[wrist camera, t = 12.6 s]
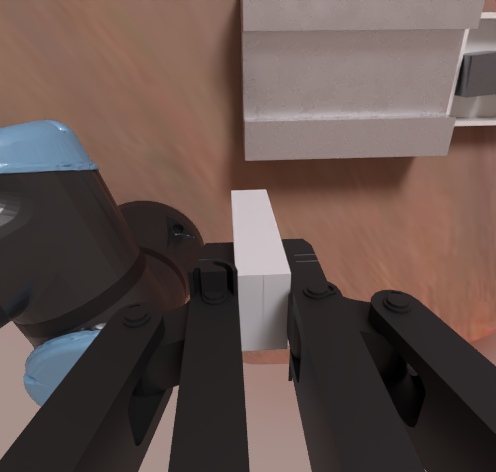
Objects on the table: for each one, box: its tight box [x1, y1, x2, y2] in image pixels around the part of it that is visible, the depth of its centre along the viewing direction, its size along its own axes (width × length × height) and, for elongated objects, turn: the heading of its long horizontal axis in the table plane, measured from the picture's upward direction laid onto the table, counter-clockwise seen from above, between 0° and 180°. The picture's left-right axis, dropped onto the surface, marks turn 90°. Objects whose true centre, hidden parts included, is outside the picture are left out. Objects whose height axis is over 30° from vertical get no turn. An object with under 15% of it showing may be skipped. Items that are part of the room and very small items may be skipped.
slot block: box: [240, 0, 485, 161], centre depth 38 cm, size 16×22×6 cm
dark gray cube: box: [454, 51, 496, 98], centre depth 39 cm, size 4×4×4 cm
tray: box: [446, 12, 496, 126], centre depth 40 cm, size 11×10×3 cm
